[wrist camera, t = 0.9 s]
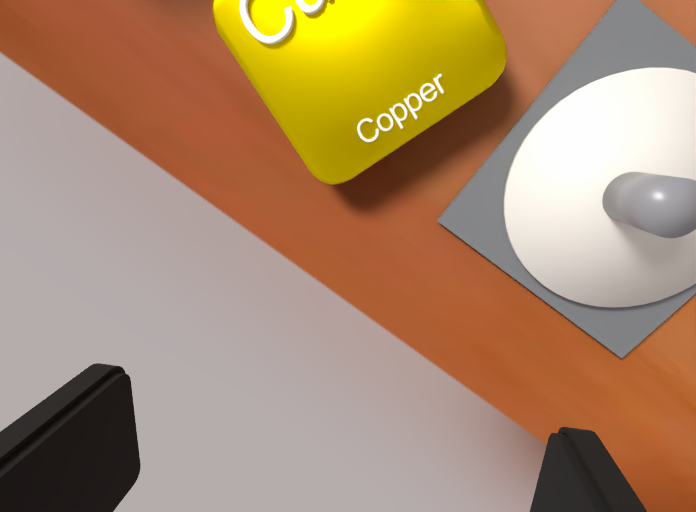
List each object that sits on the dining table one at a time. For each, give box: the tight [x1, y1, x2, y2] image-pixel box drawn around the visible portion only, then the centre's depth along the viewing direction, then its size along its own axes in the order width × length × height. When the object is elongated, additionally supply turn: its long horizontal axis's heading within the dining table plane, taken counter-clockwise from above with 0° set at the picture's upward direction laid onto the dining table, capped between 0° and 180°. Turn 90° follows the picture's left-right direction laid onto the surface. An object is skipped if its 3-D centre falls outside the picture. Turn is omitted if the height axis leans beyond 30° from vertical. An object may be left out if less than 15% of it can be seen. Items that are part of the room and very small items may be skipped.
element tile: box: [212, 0, 507, 185], centre depth 27 cm, size 15×15×5 cm
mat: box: [437, 0, 696, 359], centre depth 29 cm, size 19×19×1 cm
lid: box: [503, 68, 696, 308], centre depth 26 cm, size 17×17×6 cm
